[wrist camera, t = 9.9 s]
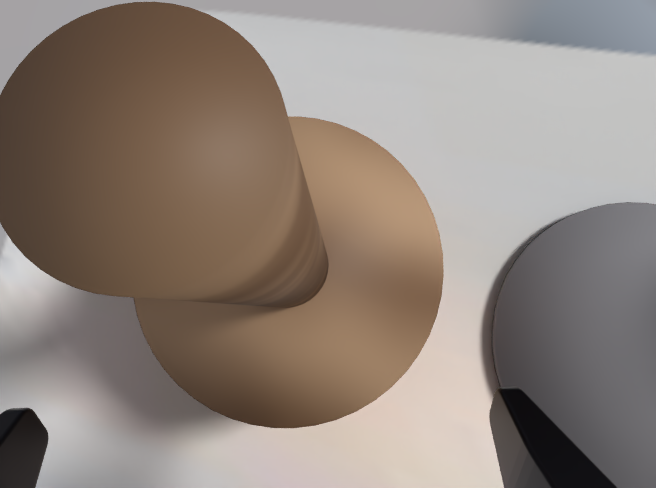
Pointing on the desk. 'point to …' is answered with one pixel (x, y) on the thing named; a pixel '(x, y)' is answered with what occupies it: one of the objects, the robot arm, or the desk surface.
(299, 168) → the lid
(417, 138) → the desk surface
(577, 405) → the mat
